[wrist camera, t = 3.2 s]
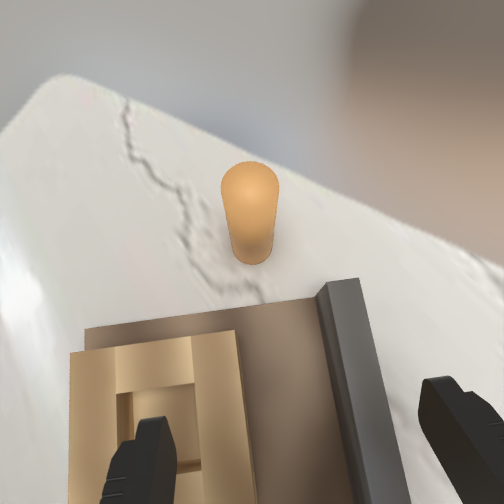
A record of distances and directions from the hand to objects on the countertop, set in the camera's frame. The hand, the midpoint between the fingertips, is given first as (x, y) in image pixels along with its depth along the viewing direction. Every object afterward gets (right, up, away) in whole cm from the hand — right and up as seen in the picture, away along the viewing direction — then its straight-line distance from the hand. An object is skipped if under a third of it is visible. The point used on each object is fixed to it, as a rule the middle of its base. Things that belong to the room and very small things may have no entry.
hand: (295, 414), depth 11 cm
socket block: (-7, -6, +13) cm, 16 cm away
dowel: (-1, +6, +18) cm, 19 cm away
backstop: (-3, -6, +14) cm, 16 cm away
